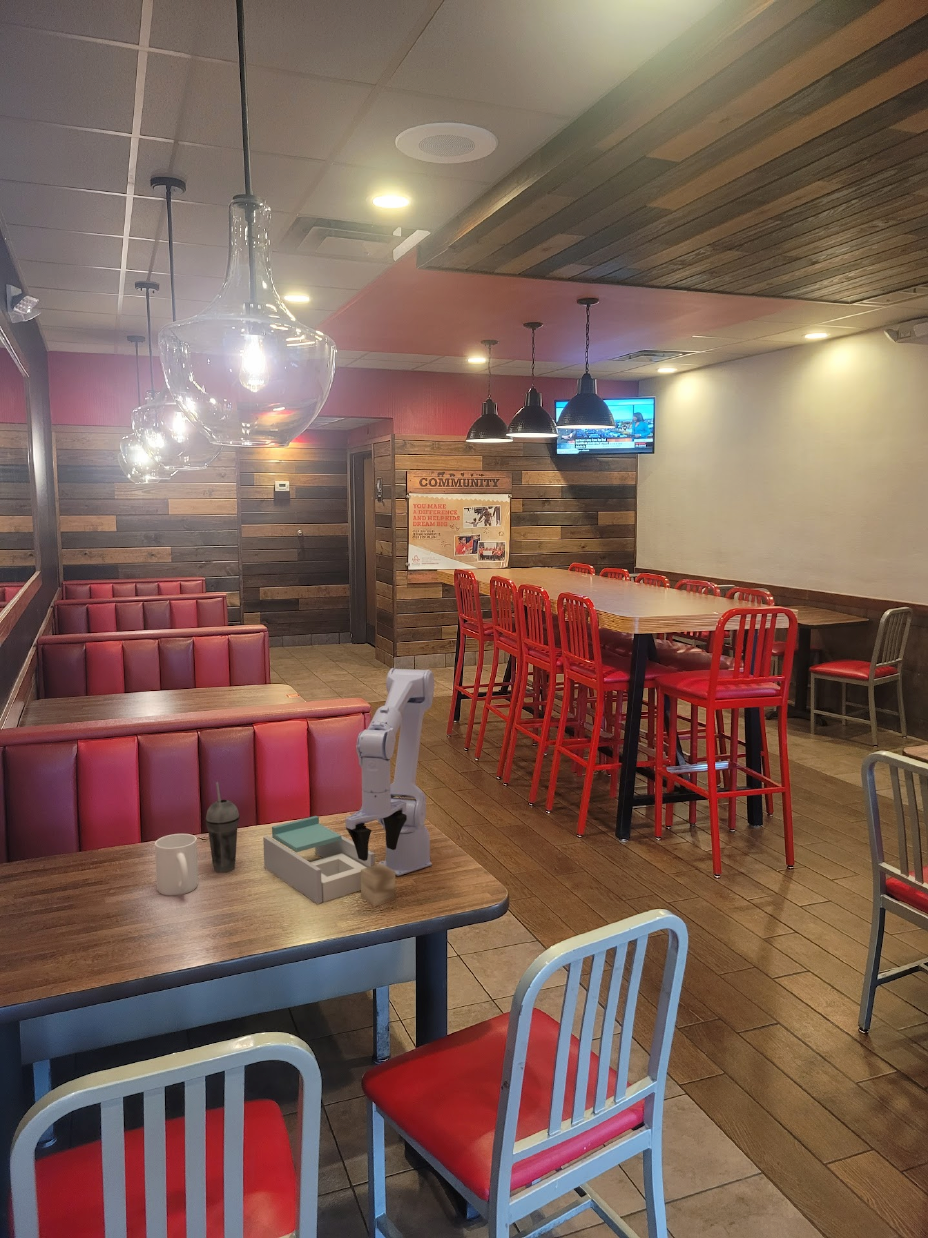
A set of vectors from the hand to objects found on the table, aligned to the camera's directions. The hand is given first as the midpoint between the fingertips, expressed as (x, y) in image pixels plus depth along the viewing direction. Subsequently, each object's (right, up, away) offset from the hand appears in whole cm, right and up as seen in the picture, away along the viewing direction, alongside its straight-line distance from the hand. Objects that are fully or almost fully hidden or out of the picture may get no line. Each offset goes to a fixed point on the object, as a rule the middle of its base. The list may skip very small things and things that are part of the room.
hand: (377, 853), depth 175 cm
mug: (-42, -9, +5) cm, 43 cm away
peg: (0, -9, +1) cm, 10 cm away
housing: (-14, -8, +12) cm, 20 cm away
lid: (-17, -1, +15) cm, 22 cm away
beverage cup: (-35, -8, +16) cm, 40 cm away
